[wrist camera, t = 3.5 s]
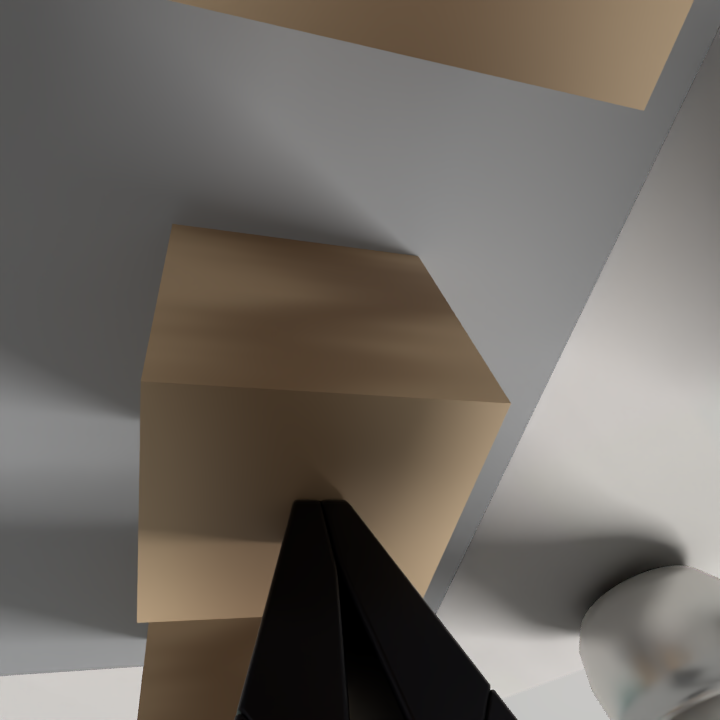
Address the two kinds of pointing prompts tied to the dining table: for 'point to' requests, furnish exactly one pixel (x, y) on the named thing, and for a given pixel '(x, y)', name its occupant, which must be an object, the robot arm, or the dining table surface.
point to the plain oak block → (298, 413)
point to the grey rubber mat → (266, 218)
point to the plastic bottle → (656, 646)
